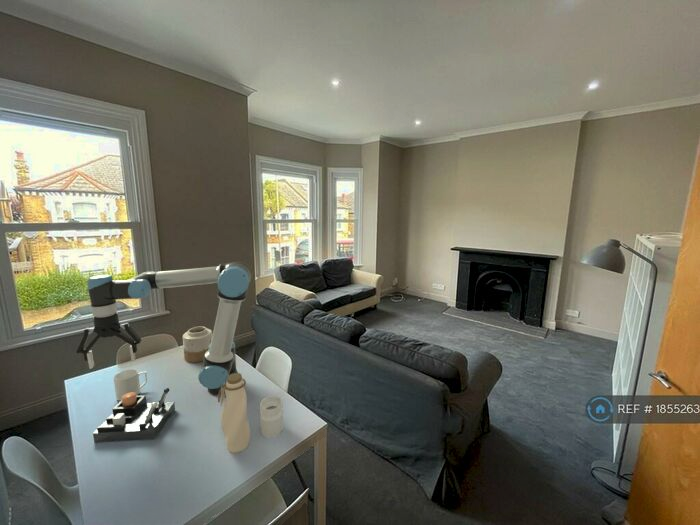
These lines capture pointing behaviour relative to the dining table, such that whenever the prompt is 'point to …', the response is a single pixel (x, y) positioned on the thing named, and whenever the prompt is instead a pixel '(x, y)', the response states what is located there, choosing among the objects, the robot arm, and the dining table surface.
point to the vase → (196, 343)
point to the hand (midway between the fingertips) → (113, 363)
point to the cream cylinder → (271, 416)
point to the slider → (119, 419)
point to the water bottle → (234, 413)
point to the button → (129, 399)
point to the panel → (134, 422)
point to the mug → (128, 382)
